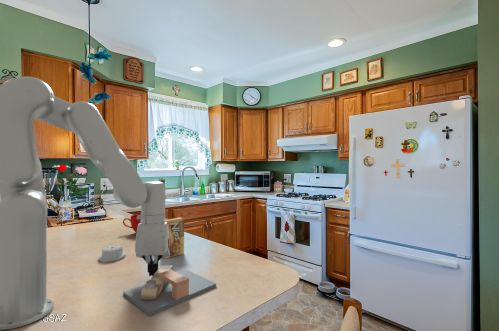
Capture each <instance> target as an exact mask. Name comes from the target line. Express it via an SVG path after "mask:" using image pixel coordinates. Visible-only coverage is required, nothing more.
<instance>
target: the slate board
mask: <svg viewBox="0 0 499 331" xmlns="http://www.w3.org/2000/svg"><path fill="white" fill-rule="evenodd" d="M178 273H179V274H181V275H183V276H185V277H187V278H189V295H187V296H184V297H182V298H180V299H177V300H176V299H175V298H173V297H172V285H171V284H170V283H168V282H167V283H166V284H165V286H164V288H163V289H162V291H161V292H160V294H159V295H158V297H157V298H156V299H150V300H141V290H142V289H143V288H144V286H145V285H146V283H144V284H141V285H139V286H135V287H133V288H130V289H128V290H127V289H126V290H123V292H122V295H123V297H125V298H126V299H127V300H128V301H130V302H132V304H133V305H134V306H136V307H137V308H138V309H140V310H141V311H142V312H144V313H145V314H146V315H147V316H148V317H150V316H154V315H155V314H158V313H160V312H162V311H163V310H166V309H167V310H168V309H169V308H171V307H173V306H176V305H178V304H181V303H182V302H185V301H186V300H189V299H191V298H194V297H196V296H199V295H201V294H202V293H205V292H207V291H210V290H211V289H213V288H217V282H215V281H212V280H210V279H207V278H206V277H204V276H201V275H199V274H197V273H195V272H192V271H190V270H189V269H185V270H183V271H180V272H178Z"/></svg>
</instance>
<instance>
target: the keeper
mask: <svg viewBox="0 0 499 331" xmlns="http://www.w3.org/2000/svg"><path fill="white" fill-rule="evenodd" d="M159 278H161V279H163V280H164V281H166V282H168V283H170V284H171V285H172V297H173V298H175V299H176V300H177V299H180V298H182V297H184V296H187V295H189V278H187V277H185V276H183V275H181V274H179V272H177V271H175V270H174V269H173V270H168V271H165V272H162V273H159Z"/></svg>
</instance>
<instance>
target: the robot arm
mask: <svg viewBox="0 0 499 331" xmlns="http://www.w3.org/2000/svg"><path fill="white" fill-rule="evenodd" d="M34 120H37V121H39V122H43V123H45V124H48V125H50V126H54V127H55V128H56V127H57V128H59V129H62V130H64V131H69V132H70V133H71V132H72V133H73V134H74V135H75V137H76V138H77V140H78V141H79V143H80V145H81V146H82V148H83V150H84V152H85V153H86V155H87V157H88V158H89V160H90V161H91V163H93V165H94V166H95V167H97V168H98V169H99V170H100V171H101V172H102V173H103V174H104V175H105V177H106V178H107V179H108V181H109V183H110V184H111V185H112V187H113V188H114V189H113V192H112V195H113V198H114V200H115V201H116V202H117V203H119V204H121V205H122V206H124V207H126V208H131V209H135V208H138V207H139V208H140V213H139V214H140V215H139V216H137V220H140V222H141V223H139V224H138V228H137V233H136V232H135V234H136V236H135V243H134V246H135V247H134V252H135V257H136V258H140V259H143V260H144V261H145V262H146V264H147V273H148V276H149V277H152V276H153V275H154V274H155V273H156V271H157V270H158V269H159V261H160V260H162V259H165V258H164V257H168V256H169V255H170V252H169V247H170V241H169V230H168V225H167V222H165V219H166V184H165V183H164V182H162V181H143V180H142V178H141V177H140V175H139V172H138V171H137V170H136V168H135V167H134V165H133V164H132V162H131V161H130V160H129V158H128V157H127V156H126V154H125V153H124V151H123V150H122V149H121V148H120V146H119V144H118V142H117V141H116V139H115V137H114V136H113V134H112V132H111V130H110V128H109V127H108V125H107V123H106V120H104V118H103V116H102V115H101V113H100V111H99V109H97V107H96V106H95V105H94V104H93V103H91V102H88V101H83V100H82V101H81V100H79V101H75V102H73V103H72V102H69V101H67V100H64V99H62V98H60V97H58V96H55V94H54V91H53V90H52V88H51V87H50V85H49V84H48V83H46V82H45V81H43V80H42V79H41V78H37V77H34V76H20V77H15V78H12V79H10V80H8V81H5V82H4V83H2V84H1V85H0V331H4V330H10V329H11V330H13V329H16V328H21V327H24V326H26V325H30V324H32V323H34V322H36V321H38V320H41V319H42V318H44V317H46V316H47V315H48V314H50V313H51V312H52V311H53V310H54V306H55V305H54V303H55V302H54V301H53V300H52V299H50V298H47V272H48V271H47V262H48V260H47V257H48V256H47V254H48V253H47V252H48V250H47V242H48V240H47V237H48V234H47V230H48V229H47V228H48V203H47V197H46V190H45V183H44V176H43V168H42V162H41V161H40V158H39V156H38V152H37V145H36V140H35V139H36V138H35V130H34V129H35V128H34Z"/></svg>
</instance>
